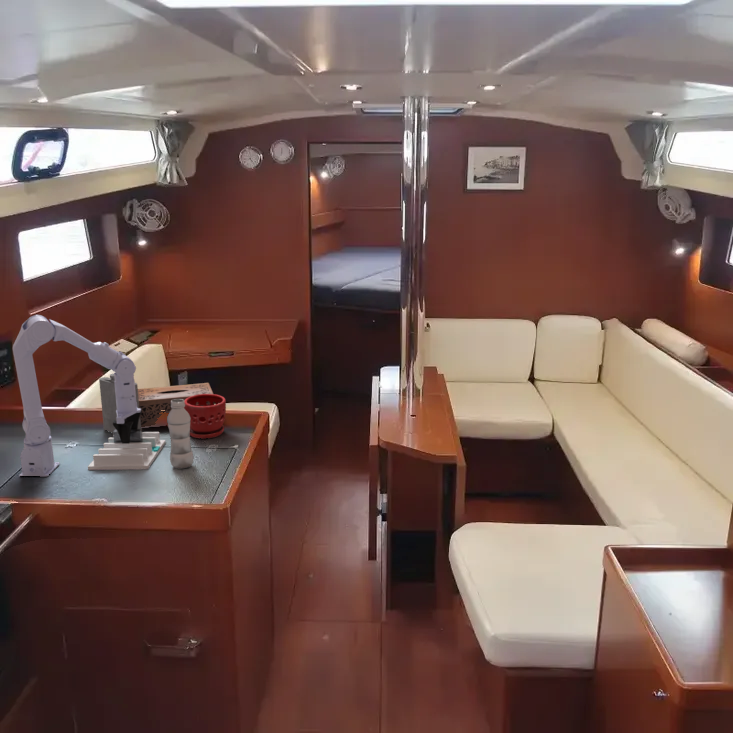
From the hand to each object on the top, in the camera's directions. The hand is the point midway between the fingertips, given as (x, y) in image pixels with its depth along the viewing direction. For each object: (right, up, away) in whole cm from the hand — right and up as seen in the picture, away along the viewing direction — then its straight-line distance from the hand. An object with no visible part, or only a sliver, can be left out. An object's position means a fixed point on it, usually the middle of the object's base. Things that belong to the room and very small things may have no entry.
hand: (129, 438), depth 224 cm
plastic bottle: (+18, -7, -9) cm, 22 cm away
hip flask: (-8, 0, +18) cm, 20 cm away
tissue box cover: (+5, +3, +32) cm, 33 cm away
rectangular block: (0, -3, +1) cm, 3 cm away
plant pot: (+20, -1, +17) cm, 26 cm away
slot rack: (0, -5, -1) cm, 5 cm away
